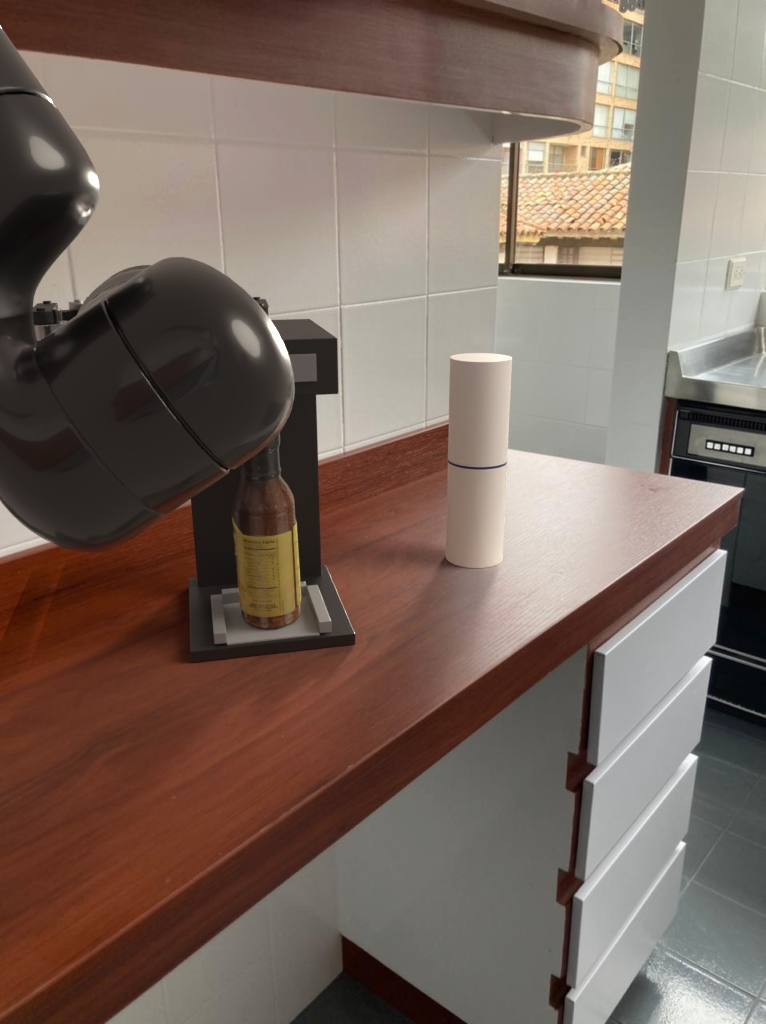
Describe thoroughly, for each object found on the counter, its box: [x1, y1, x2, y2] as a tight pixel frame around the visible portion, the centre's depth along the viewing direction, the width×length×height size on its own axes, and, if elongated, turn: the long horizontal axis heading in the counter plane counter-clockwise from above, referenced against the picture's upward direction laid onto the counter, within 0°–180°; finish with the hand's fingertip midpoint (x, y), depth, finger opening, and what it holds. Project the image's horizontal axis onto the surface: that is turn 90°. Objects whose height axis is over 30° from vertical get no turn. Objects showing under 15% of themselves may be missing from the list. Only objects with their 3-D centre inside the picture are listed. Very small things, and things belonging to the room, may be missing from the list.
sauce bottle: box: [232, 432, 301, 629], centre depth 80 cm, size 7×6×20 cm
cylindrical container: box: [445, 352, 513, 569], centre depth 99 cm, size 7×7×25 cm
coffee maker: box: [188, 318, 356, 664], centre depth 83 cm, size 16×18×30 cm
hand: (157, 312), depth 58 cm, fingers open, 8 cm apart
